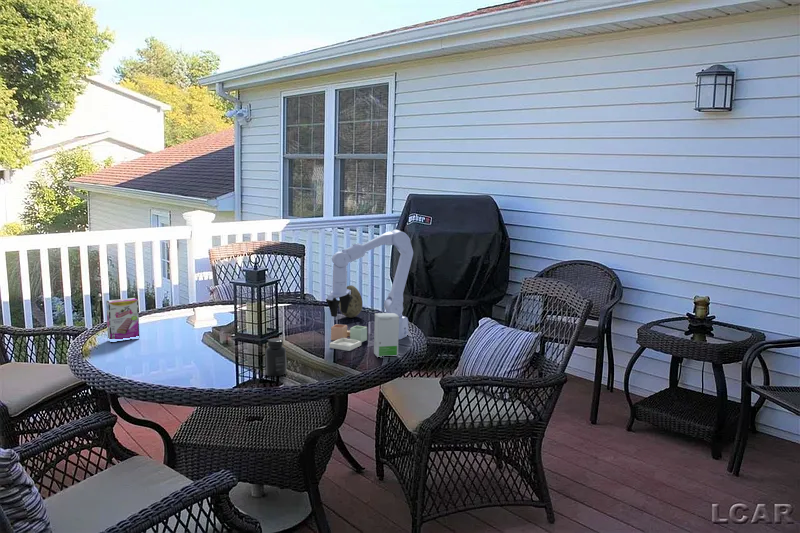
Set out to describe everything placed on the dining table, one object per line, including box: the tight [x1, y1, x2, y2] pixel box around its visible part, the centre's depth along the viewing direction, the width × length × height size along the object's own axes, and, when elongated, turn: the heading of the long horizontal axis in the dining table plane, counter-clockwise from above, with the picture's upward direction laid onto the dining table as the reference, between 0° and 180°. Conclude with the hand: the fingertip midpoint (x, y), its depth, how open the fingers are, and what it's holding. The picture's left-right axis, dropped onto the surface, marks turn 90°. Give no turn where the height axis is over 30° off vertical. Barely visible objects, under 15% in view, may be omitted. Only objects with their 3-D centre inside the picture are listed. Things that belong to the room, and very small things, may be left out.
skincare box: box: [373, 312, 399, 358], centre depth 244 cm, size 8×7×16 cm
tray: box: [329, 338, 362, 352], centre depth 256 cm, size 9×9×2 cm
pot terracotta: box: [330, 323, 348, 341], centre depth 266 cm, size 5×5×6 cm
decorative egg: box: [338, 285, 363, 319], centre depth 302 cm, size 11×11×15 cm
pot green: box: [349, 325, 368, 344], centre depth 264 cm, size 5×5×6 cm
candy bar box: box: [105, 297, 140, 339], centre depth 259 cm, size 11×5×16 cm, turn 126°
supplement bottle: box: [265, 337, 287, 377], centre depth 221 cm, size 7×7×12 cm
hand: (339, 314), depth 265 cm, fingers open, 7 cm apart
